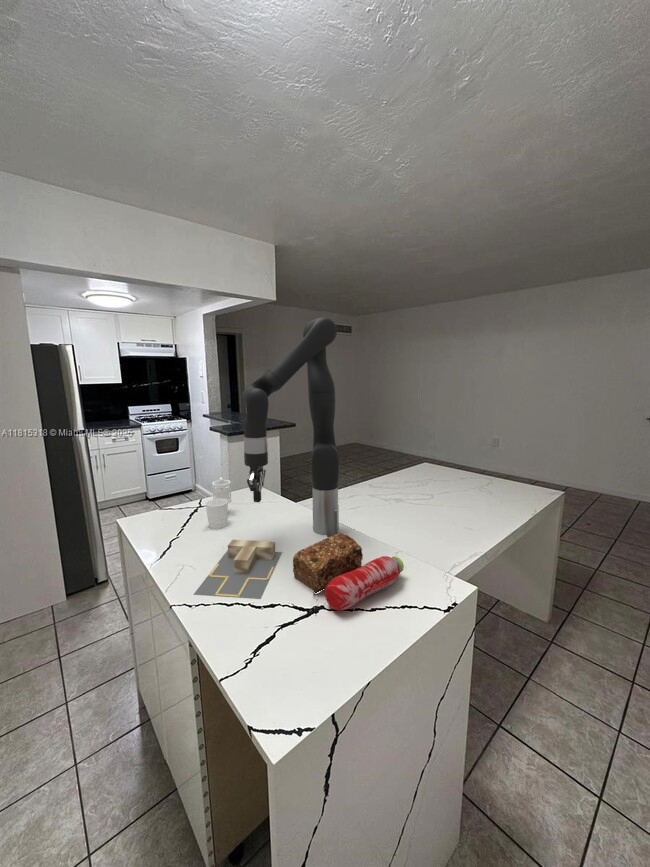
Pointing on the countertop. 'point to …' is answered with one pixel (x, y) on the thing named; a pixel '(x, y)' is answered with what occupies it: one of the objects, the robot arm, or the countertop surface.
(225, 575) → the board
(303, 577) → the bread
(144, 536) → the countertop surface
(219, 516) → the white cup
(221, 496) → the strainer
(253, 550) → the t block
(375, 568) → the water bottle
